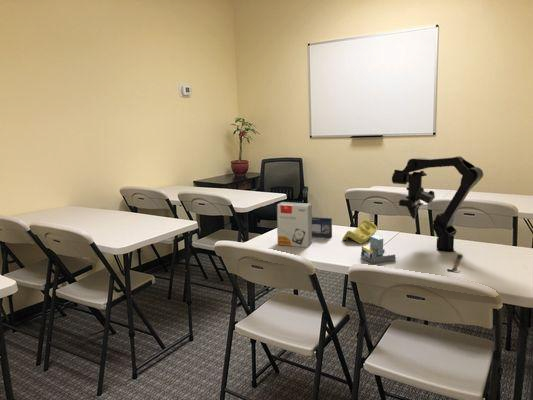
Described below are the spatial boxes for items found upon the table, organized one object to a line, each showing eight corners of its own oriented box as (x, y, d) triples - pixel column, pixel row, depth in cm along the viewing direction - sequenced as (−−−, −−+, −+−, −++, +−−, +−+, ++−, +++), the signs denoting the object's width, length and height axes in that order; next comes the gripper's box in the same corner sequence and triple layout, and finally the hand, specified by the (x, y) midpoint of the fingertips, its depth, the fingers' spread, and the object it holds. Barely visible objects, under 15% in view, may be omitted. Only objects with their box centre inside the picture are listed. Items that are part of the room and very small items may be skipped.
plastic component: (363, 240, 193) (346, 228, 198) (357, 252, 197) (340, 240, 201) (380, 227, 208) (363, 217, 213) (374, 239, 212) (358, 229, 216)
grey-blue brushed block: (374, 253, 175) (375, 235, 174) (382, 257, 170) (383, 238, 168) (363, 254, 174) (363, 236, 172) (370, 259, 168) (371, 240, 167)
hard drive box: (277, 245, 198) (275, 204, 194) (282, 240, 205) (281, 201, 201) (308, 247, 192) (307, 206, 188) (312, 243, 199) (312, 203, 195)
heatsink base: (383, 254, 178) (383, 243, 178) (395, 260, 170) (395, 248, 169) (360, 257, 175) (360, 246, 174) (372, 264, 167) (372, 252, 166)
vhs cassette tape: (296, 236, 213) (295, 217, 211) (297, 234, 215) (297, 216, 214) (331, 238, 206) (331, 219, 205) (332, 236, 209) (332, 217, 207)
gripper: (422, 189, 176) (421, 224, 179) (441, 184, 189) (439, 217, 192) (398, 187, 184) (397, 221, 187) (417, 182, 197) (416, 214, 200)
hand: (413, 218), depth 191 cm, fingers closed
